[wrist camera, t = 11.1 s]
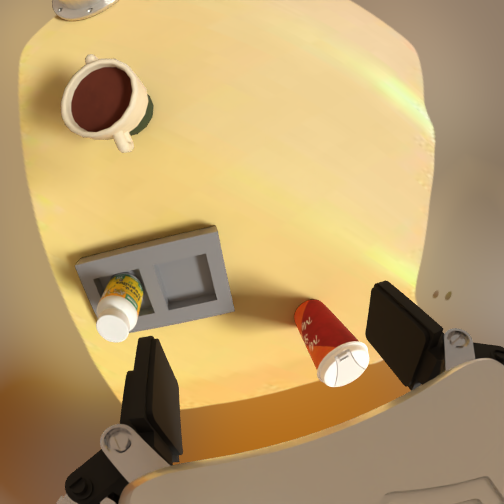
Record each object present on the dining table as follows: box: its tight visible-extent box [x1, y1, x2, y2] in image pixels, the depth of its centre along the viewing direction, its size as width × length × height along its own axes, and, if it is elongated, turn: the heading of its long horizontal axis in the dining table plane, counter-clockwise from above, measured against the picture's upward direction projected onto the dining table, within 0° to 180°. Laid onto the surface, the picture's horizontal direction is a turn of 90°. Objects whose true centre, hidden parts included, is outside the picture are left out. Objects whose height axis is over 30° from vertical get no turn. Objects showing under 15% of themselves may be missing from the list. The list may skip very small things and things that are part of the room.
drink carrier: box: [75, 226, 235, 333], centre depth 37 cm, size 12×20×2 cm, turn 99°
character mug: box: [61, 54, 153, 153], centre depth 23 cm, size 11×7×13 cm, turn 21°
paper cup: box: [294, 299, 369, 387], centre depth 39 cm, size 8×8×14 cm
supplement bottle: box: [96, 273, 144, 342], centre depth 32 cm, size 5×5×10 cm
